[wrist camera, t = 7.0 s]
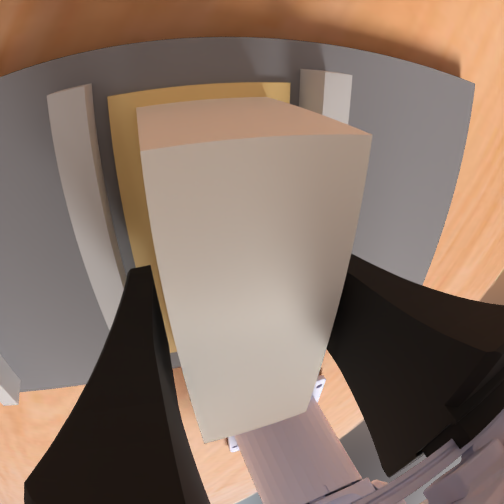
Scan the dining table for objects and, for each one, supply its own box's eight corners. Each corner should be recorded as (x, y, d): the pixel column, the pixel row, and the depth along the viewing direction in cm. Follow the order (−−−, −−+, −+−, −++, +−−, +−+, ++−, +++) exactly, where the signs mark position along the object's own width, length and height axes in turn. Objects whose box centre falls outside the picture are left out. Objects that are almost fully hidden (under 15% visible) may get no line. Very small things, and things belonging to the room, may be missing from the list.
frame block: (259, 324, 15) (305, 411, 11) (175, 344, 14) (204, 443, 10) (267, 96, 9) (372, 134, 5) (135, 107, 8) (140, 151, 4)
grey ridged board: (410, 282, 20) (433, 304, 18) (1, 379, 12) (-3, 415, 11) (461, 79, 12) (497, 91, 10) (-113, 140, 5) (-148, 162, 3)
